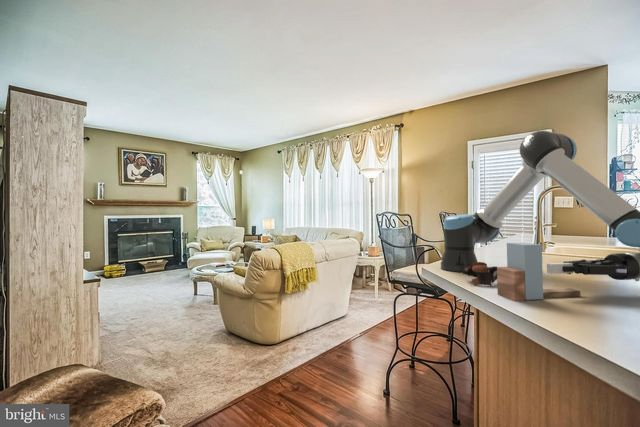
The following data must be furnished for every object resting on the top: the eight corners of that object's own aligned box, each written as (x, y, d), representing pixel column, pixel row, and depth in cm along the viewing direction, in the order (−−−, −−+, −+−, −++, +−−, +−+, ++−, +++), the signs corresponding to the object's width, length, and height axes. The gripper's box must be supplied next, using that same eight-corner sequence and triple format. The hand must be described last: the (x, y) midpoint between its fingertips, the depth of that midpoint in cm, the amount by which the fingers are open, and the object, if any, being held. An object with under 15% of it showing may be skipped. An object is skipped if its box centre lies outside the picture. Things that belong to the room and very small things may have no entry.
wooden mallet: (514, 301, 82) (513, 271, 82) (497, 294, 89) (496, 267, 89) (587, 298, 83) (586, 268, 83) (565, 291, 90) (564, 265, 90)
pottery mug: (463, 286, 101) (458, 263, 106) (470, 293, 108) (464, 271, 112) (504, 280, 96) (497, 256, 100) (508, 288, 102) (501, 265, 106)
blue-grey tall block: (525, 299, 82) (524, 245, 82) (507, 293, 89) (506, 242, 89) (543, 299, 82) (541, 244, 83) (524, 292, 89) (522, 242, 90)
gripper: (653, 284, 81) (569, 287, 80) (605, 275, 94) (532, 277, 93) (652, 256, 81) (568, 258, 80) (604, 250, 94) (531, 252, 93)
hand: (549, 268), depth 86 cm, fingers closed
